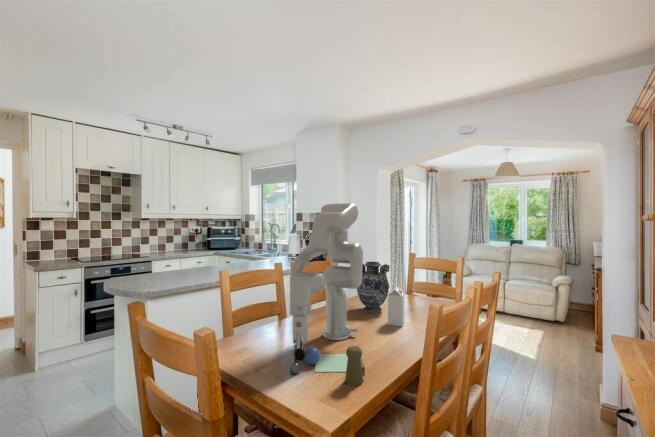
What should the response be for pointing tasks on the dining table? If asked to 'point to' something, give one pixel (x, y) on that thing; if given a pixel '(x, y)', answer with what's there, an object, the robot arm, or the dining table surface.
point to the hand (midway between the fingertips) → (299, 359)
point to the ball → (311, 355)
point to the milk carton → (396, 307)
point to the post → (294, 368)
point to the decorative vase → (373, 286)
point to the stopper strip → (362, 366)
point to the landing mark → (332, 363)
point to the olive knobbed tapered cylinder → (354, 366)
